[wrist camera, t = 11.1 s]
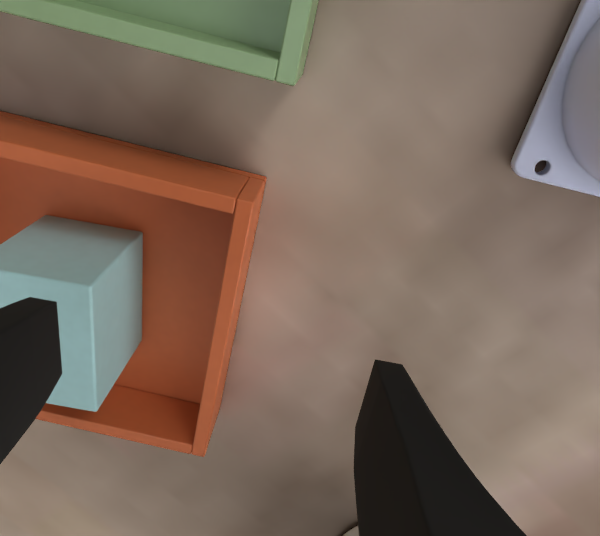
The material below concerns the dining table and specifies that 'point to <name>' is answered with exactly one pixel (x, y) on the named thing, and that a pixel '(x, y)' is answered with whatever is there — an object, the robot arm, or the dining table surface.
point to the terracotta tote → (146, 266)
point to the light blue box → (81, 298)
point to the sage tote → (194, 29)
